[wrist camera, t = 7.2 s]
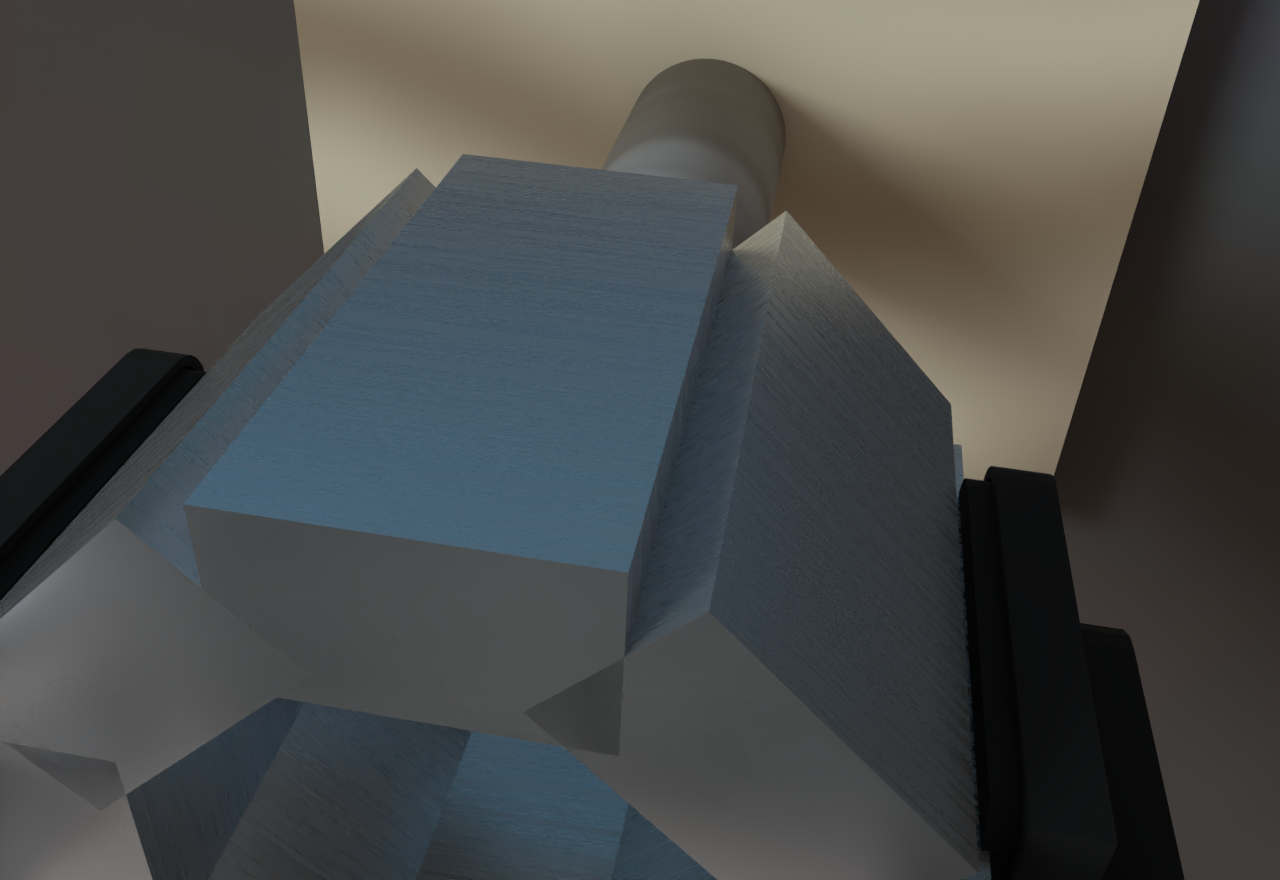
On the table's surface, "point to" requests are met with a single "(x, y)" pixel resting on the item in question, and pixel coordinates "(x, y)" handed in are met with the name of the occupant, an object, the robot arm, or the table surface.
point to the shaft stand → (806, 149)
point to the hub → (515, 572)
